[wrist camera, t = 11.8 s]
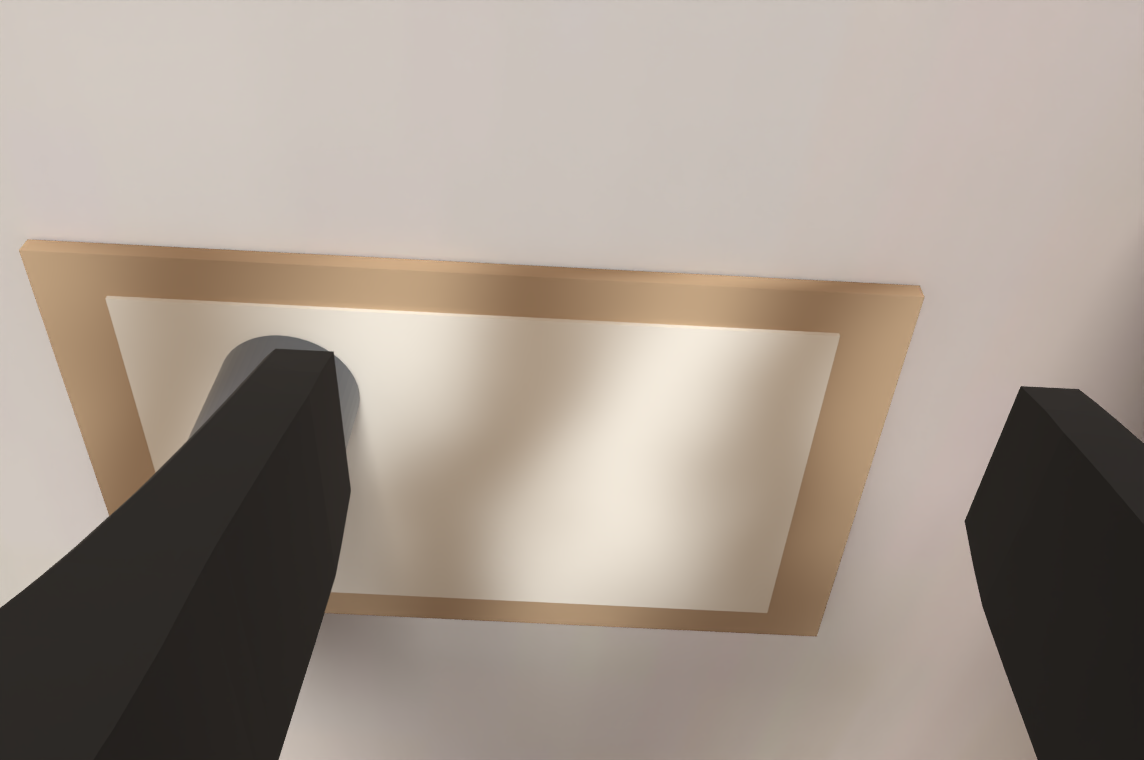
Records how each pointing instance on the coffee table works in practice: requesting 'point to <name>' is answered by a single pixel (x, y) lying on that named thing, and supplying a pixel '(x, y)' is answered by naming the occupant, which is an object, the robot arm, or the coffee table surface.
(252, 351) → the marker
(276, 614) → the robot arm
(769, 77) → the coffee table surface
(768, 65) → the coffee table surface
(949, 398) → the coffee table surface
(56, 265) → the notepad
